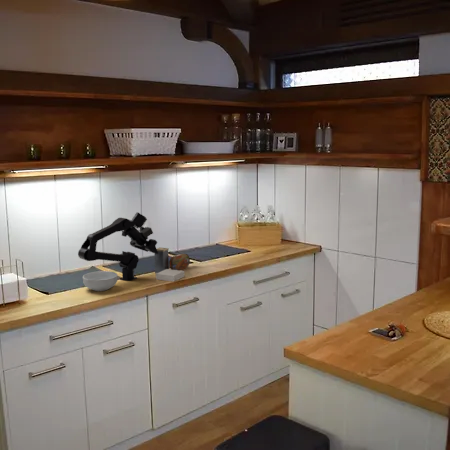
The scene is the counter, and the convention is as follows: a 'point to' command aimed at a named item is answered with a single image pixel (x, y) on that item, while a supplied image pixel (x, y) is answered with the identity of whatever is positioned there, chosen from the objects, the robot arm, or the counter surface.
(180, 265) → the mottled brown rounded slab
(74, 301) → the counter surface
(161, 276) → the stand
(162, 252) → the block
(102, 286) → the cereal bowl
